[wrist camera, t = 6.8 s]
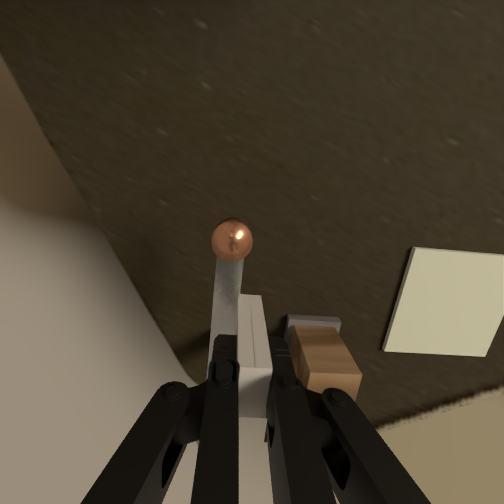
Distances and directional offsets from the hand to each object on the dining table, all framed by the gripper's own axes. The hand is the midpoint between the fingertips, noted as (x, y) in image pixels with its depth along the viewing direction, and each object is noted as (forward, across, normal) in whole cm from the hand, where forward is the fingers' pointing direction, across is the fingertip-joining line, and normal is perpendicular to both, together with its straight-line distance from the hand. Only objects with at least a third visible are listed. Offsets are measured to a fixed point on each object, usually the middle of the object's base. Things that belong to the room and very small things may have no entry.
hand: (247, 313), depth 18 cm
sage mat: (+14, +26, -5) cm, 30 cm away
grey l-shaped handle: (+13, -2, -3) cm, 14 cm away
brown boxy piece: (+14, +9, -11) cm, 20 cm away
